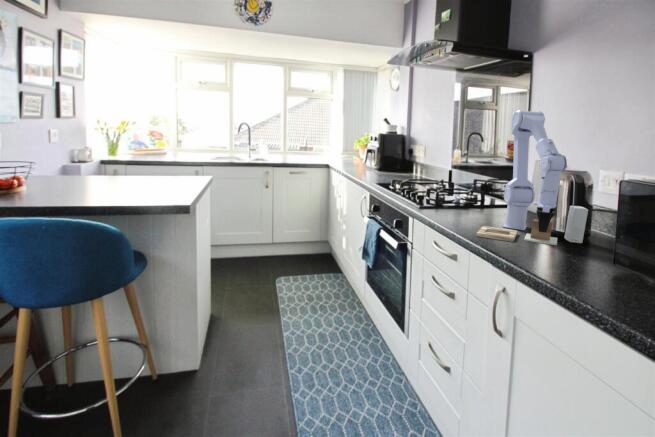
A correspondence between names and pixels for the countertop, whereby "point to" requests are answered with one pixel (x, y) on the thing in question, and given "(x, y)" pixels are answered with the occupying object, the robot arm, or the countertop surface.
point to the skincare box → (576, 224)
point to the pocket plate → (486, 232)
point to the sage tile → (552, 240)
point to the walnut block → (540, 235)
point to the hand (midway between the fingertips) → (542, 229)
